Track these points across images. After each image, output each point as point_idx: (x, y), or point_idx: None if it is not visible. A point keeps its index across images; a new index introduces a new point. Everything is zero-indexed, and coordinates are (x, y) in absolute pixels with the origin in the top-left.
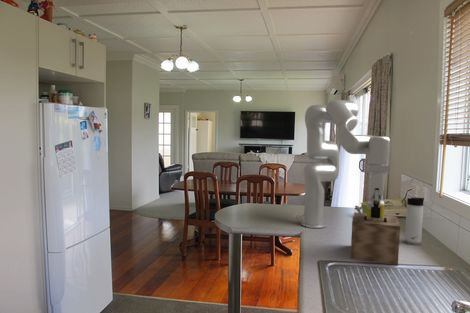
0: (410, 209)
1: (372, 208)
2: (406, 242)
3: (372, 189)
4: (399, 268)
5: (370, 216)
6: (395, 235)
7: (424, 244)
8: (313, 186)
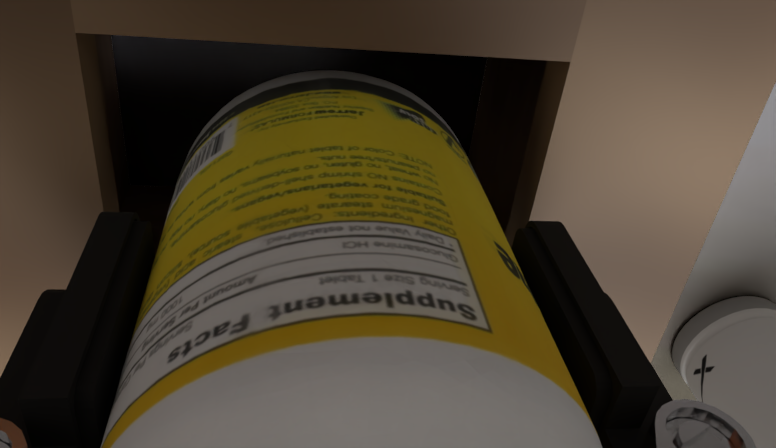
0: None
1: (42, 387)
2: (717, 303)
3: None
4: None
5: (178, 201)
6: None
7: (689, 391)
8: None
